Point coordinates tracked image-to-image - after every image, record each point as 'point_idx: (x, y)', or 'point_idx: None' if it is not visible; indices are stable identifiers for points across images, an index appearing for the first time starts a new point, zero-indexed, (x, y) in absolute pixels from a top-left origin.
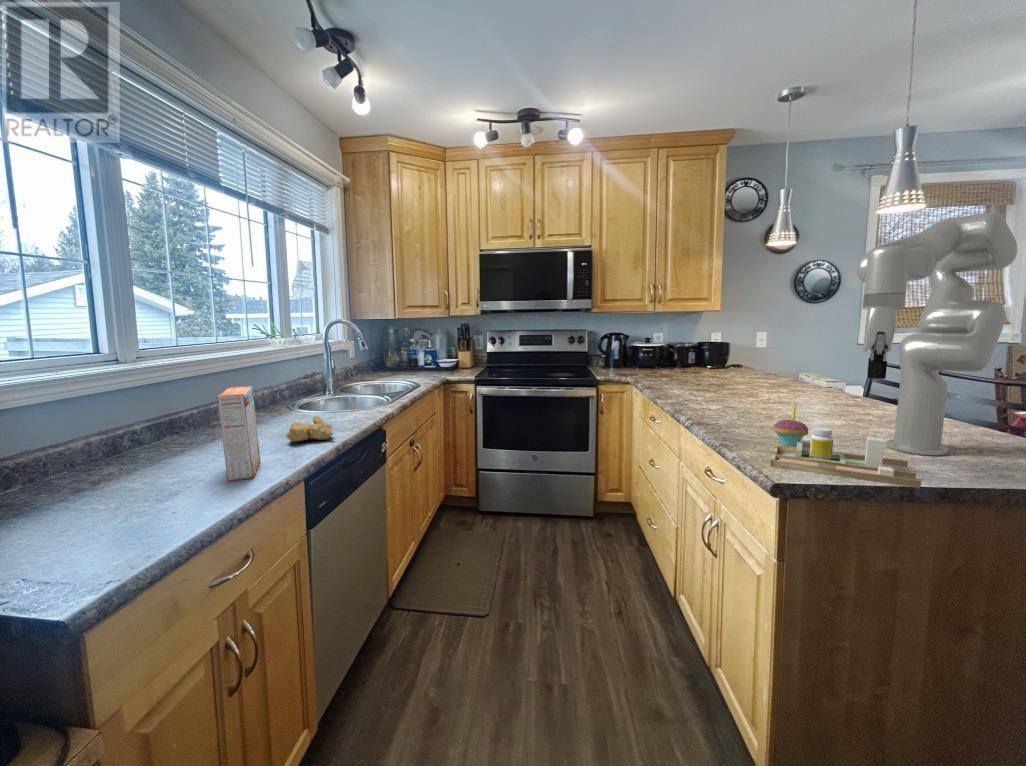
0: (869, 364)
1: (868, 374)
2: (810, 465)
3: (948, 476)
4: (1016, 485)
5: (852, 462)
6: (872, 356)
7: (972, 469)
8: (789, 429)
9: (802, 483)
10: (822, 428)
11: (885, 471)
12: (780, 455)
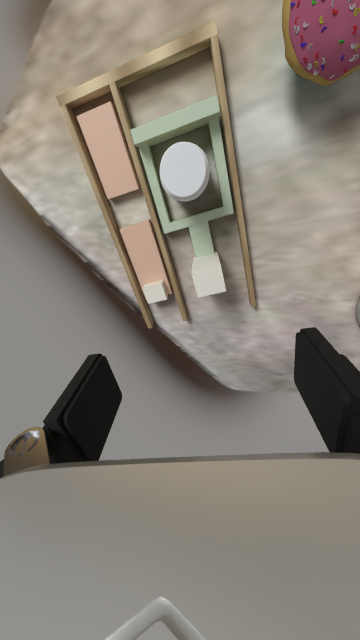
0: (58, 404)
1: (85, 365)
2: (94, 186)
3: (234, 343)
4: (244, 390)
5: (191, 238)
6: (9, 461)
7: None
8: (289, 16)
9: (27, 199)
10: (189, 168)
11: (145, 293)
12: (114, 97)
